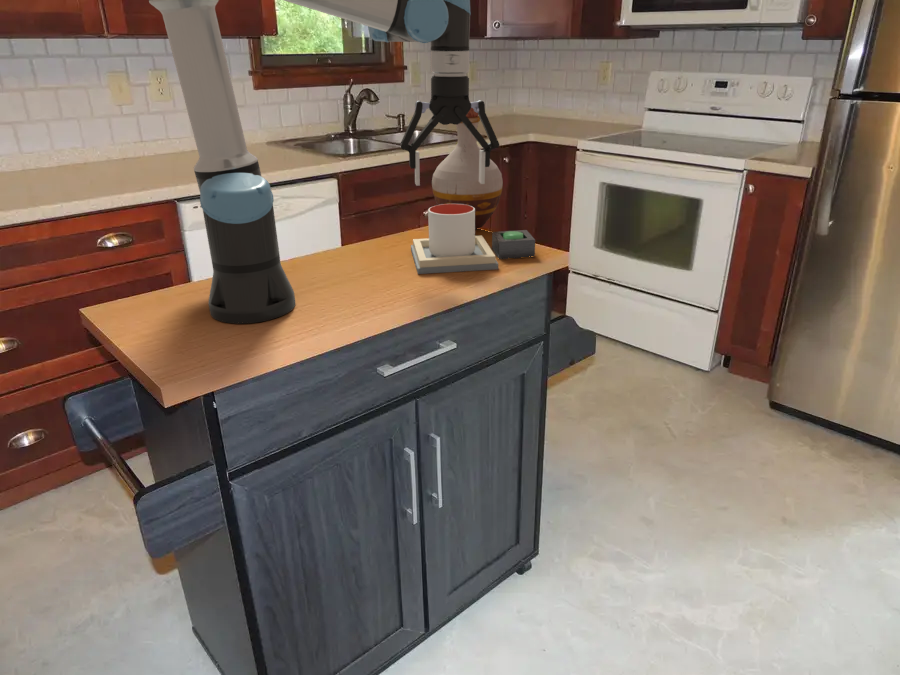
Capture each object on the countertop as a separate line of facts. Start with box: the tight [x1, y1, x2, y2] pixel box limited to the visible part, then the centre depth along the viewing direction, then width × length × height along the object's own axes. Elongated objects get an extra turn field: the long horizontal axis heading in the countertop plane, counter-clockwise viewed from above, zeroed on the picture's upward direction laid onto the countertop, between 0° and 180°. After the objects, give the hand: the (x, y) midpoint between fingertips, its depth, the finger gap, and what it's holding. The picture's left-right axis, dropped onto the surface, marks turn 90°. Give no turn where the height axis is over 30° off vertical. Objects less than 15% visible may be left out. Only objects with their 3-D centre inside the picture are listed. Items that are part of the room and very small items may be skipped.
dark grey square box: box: [491, 229, 536, 260], centre depth 149 cm, size 8×8×4 cm
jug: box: [431, 108, 504, 230], centre depth 166 cm, size 20×18×30 cm
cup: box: [427, 204, 476, 257], centre depth 143 cm, size 10×10×10 cm
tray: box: [410, 235, 499, 275], centre depth 146 cm, size 17×17×3 cm
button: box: [503, 230, 523, 240], centre depth 148 cm, size 4×4×3 cm
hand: (449, 183), depth 139 cm, fingers open, 13 cm apart
